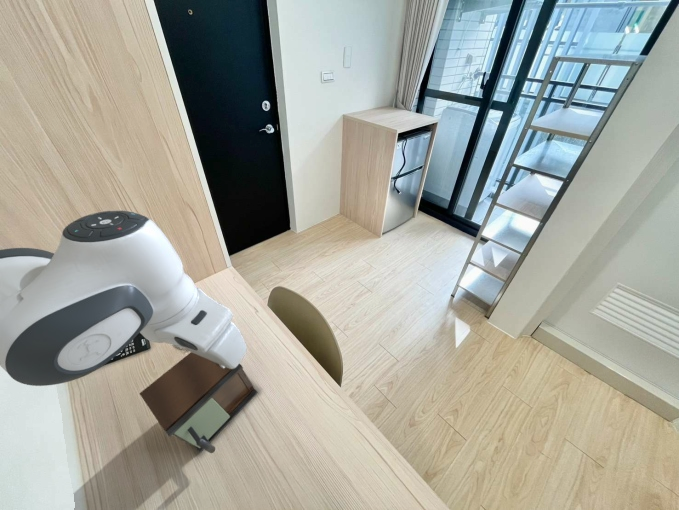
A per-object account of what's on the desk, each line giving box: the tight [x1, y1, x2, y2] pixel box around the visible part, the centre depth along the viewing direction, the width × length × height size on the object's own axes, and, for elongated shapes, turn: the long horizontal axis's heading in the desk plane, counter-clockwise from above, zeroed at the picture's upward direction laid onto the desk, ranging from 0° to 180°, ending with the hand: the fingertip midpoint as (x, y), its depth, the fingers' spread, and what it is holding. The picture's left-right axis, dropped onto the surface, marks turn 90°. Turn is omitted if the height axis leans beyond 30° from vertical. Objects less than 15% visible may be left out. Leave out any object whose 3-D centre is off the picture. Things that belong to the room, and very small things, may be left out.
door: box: [174, 398, 230, 454], centre depth 55 cm, size 8×5×13 cm, turn 141°
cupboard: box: [139, 351, 259, 454], centre depth 60 cm, size 16×11×16 cm
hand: (202, 354), depth 49 cm, fingers open, 8 cm apart
